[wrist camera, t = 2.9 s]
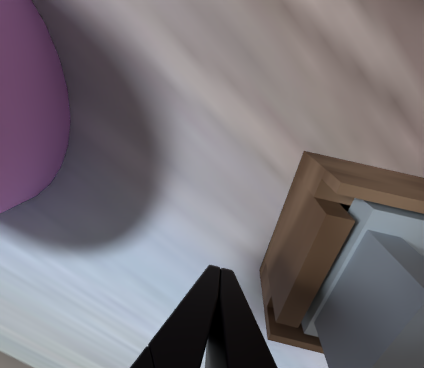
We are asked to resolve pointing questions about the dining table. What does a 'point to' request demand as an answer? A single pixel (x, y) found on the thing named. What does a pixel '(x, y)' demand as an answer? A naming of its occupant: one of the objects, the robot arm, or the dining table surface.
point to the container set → (29, 105)
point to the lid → (373, 292)
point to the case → (320, 235)
